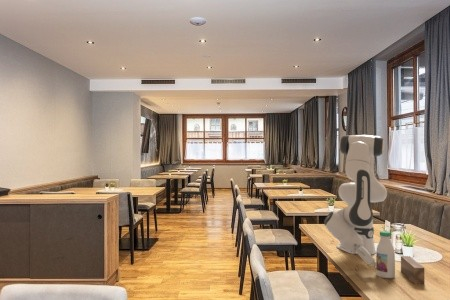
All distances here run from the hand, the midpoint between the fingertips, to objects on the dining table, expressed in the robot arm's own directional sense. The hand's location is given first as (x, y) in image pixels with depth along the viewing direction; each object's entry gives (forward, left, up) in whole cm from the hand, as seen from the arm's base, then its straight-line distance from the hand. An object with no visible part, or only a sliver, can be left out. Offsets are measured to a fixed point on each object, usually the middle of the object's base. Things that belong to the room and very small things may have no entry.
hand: (375, 264), depth 168 cm
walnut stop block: (+9, +13, -5) cm, 16 cm away
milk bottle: (+3, +4, -5) cm, 7 cm away
